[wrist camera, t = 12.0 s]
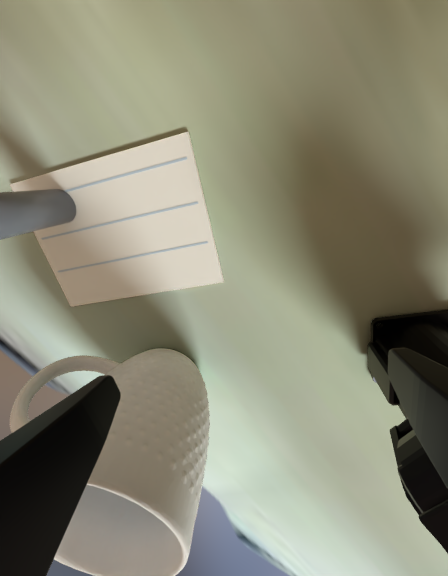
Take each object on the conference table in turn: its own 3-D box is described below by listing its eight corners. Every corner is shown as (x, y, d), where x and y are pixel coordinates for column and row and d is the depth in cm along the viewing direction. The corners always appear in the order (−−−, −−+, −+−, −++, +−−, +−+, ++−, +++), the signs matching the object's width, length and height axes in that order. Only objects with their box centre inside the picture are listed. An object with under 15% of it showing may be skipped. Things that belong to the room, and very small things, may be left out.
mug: (73, 368, 27) (-69, 513, 15) (100, 289, 23) (-72, 407, 11) (194, 426, 29) (148, 601, 17) (241, 362, 24) (224, 539, 12)
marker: (67, 183, 19) (-105, 191, 10) (83, 220, 20) (-60, 257, 11) (37, 192, 20) (-152, 206, 11) (54, 227, 21) (-105, 267, 12)
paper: (188, 132, 17) (187, 131, 17) (224, 280, 21) (223, 282, 21) (12, 184, 20) (9, 184, 20) (73, 305, 24) (70, 306, 24)
